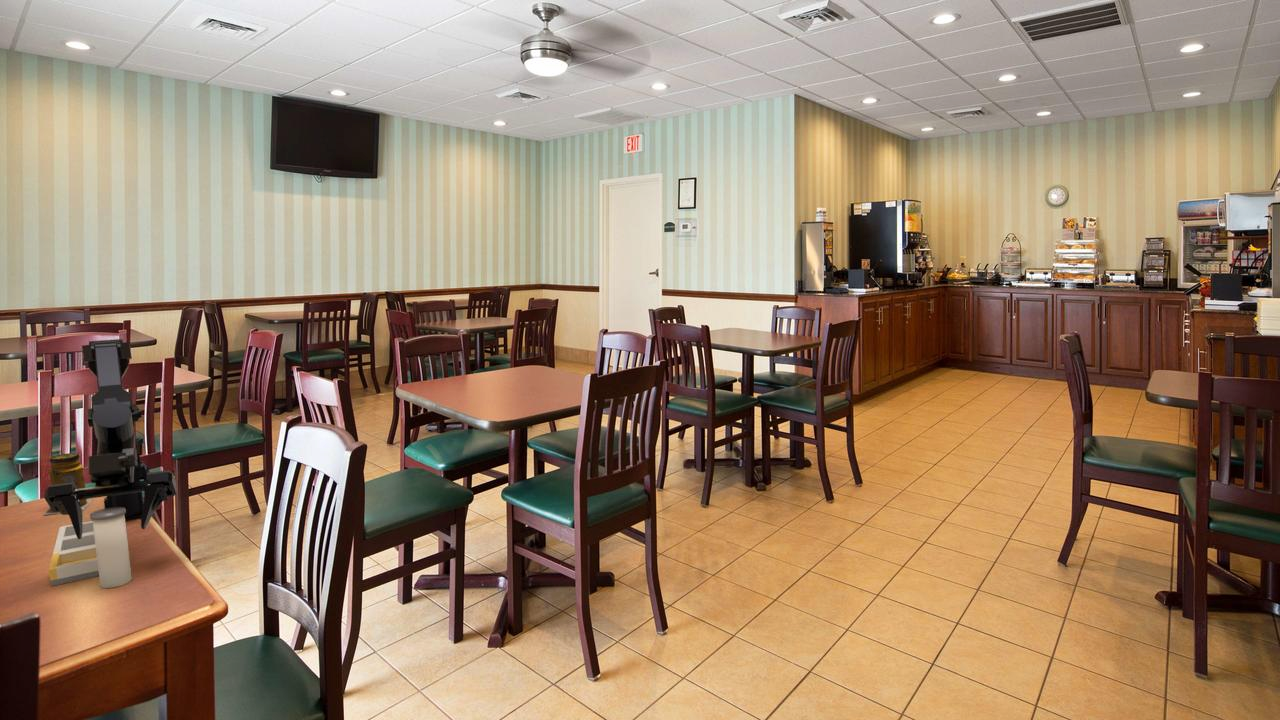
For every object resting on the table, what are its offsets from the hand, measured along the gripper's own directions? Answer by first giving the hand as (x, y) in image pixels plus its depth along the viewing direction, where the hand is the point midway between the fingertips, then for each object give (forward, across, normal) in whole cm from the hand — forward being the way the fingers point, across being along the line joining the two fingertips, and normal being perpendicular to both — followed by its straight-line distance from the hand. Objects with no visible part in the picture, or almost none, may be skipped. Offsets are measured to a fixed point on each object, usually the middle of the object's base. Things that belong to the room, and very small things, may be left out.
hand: (111, 533), depth 124 cm
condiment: (-29, -17, +41) cm, 53 cm away
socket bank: (-4, -8, +17) cm, 19 cm away
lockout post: (+7, 0, +5) cm, 9 cm away
